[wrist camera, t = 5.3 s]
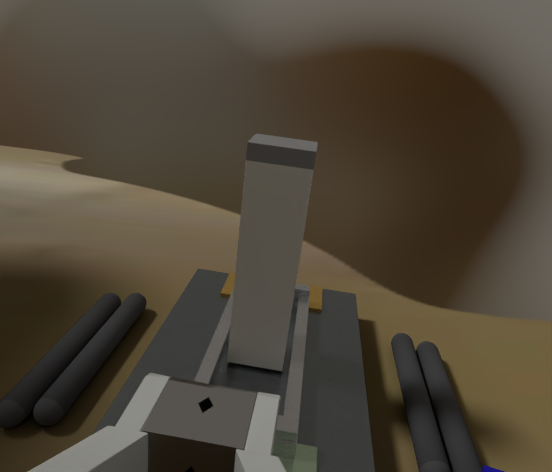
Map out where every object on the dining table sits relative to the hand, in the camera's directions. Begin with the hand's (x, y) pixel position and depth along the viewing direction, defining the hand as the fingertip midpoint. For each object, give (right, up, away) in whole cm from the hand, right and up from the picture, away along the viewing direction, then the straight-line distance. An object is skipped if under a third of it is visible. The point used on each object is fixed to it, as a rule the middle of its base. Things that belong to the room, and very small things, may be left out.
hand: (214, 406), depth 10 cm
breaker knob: (0, -3, +15) cm, 15 cm away
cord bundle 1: (-10, -3, +16) cm, 19 cm away
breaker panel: (0, -5, +15) cm, 16 cm away
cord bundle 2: (+10, -6, +15) cm, 19 cm away
